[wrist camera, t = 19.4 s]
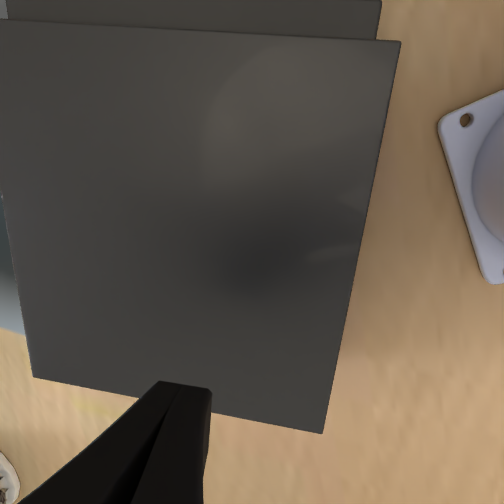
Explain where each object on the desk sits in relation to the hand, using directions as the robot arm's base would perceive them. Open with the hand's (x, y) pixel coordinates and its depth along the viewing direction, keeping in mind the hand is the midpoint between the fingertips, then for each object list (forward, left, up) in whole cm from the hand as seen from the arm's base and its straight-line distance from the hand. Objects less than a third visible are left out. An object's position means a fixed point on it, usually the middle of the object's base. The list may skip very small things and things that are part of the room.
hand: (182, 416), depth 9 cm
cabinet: (+1, -3, -10) cm, 11 cm away
